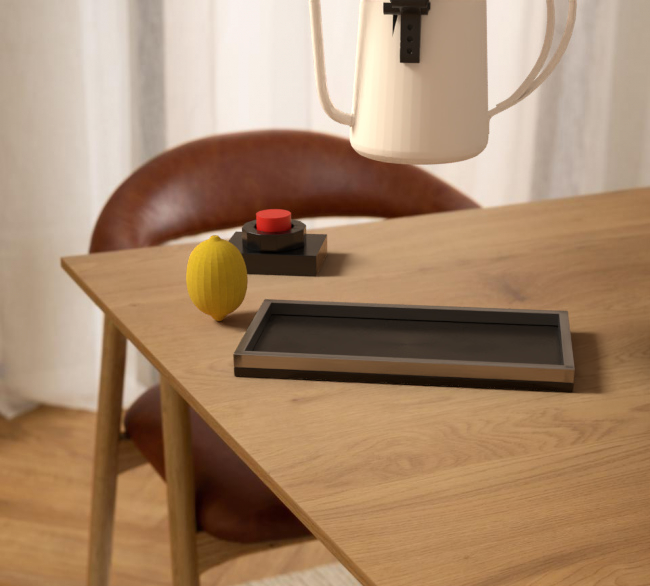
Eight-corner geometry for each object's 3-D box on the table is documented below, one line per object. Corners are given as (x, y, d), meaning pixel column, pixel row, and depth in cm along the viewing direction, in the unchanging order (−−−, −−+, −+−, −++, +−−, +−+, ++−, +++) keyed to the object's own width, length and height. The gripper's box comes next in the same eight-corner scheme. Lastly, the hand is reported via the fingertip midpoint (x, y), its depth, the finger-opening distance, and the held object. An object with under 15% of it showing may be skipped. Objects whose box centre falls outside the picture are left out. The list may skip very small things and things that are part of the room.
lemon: (244, 308, 112) (240, 225, 108) (253, 328, 107) (250, 241, 103) (185, 313, 111) (180, 229, 107) (192, 333, 106) (186, 246, 102)
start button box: (327, 254, 127) (327, 217, 125) (316, 277, 120) (316, 238, 118) (236, 251, 128) (234, 214, 127) (220, 273, 121) (218, 235, 120)
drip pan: (566, 331, 106) (567, 310, 105) (572, 392, 93) (574, 369, 92) (265, 319, 109) (264, 298, 108) (234, 376, 97) (232, 353, 96)
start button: (294, 226, 124) (293, 209, 123) (288, 235, 121) (287, 218, 120) (260, 224, 124) (259, 208, 124) (253, 234, 121) (253, 217, 120)
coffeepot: (245, 146, 96) (236, -114, 87) (538, 133, 100) (556, -116, 92) (266, 176, 87) (258, -112, 78) (588, 159, 91) (614, -115, 82)
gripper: (386, -232, 91) (381, 74, 102) (350, -256, 73) (348, 122, 83) (484, -234, 90) (469, 76, 101) (473, -258, 72) (455, 125, 82)
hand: (414, 96), depth 92 cm, fingers closed on coffeepot, 9 cm apart
